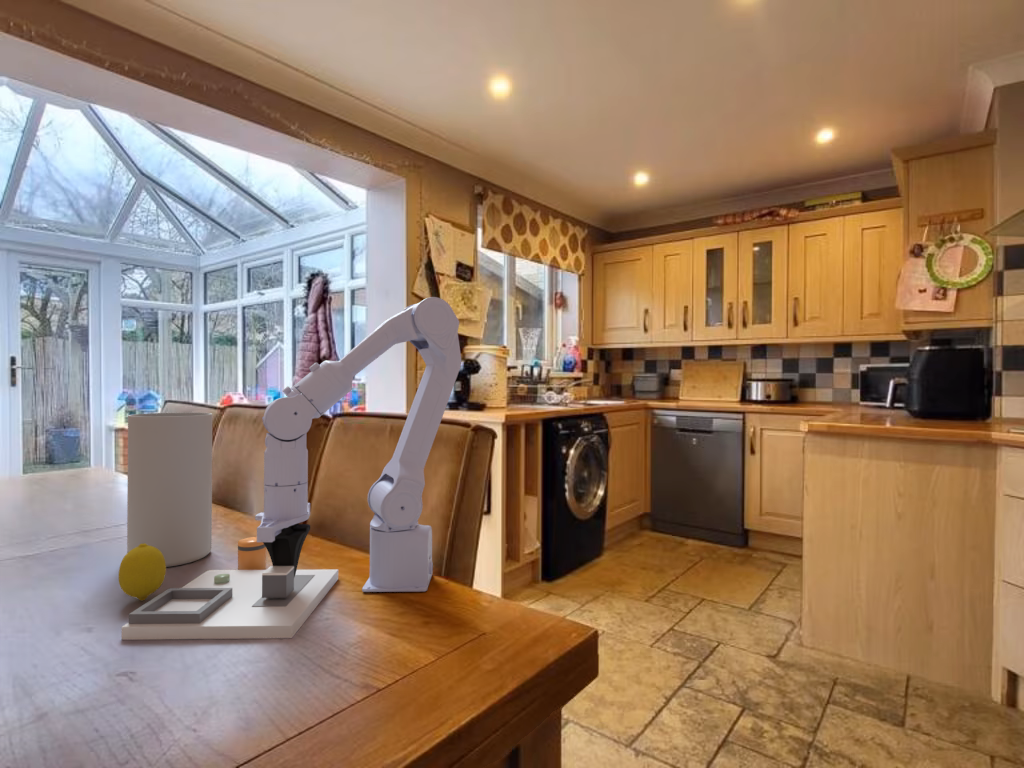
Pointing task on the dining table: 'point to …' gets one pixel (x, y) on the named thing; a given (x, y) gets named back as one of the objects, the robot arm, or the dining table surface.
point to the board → (229, 607)
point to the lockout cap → (251, 554)
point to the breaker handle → (277, 581)
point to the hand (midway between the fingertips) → (285, 579)
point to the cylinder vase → (170, 484)
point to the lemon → (142, 571)
